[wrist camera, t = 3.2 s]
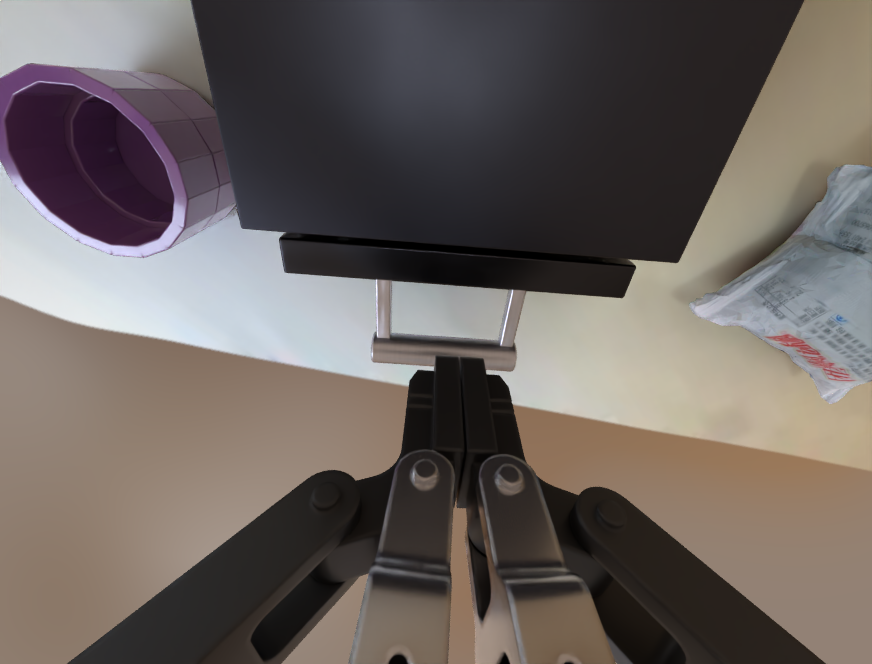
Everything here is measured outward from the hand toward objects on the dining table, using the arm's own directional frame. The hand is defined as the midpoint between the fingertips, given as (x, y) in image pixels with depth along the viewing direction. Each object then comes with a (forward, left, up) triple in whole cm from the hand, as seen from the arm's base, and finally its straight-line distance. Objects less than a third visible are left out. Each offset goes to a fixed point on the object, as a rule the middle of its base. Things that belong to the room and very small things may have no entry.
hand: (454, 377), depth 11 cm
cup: (-13, +4, -10) cm, 17 cm away
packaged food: (+20, 0, -10) cm, 22 cm away
